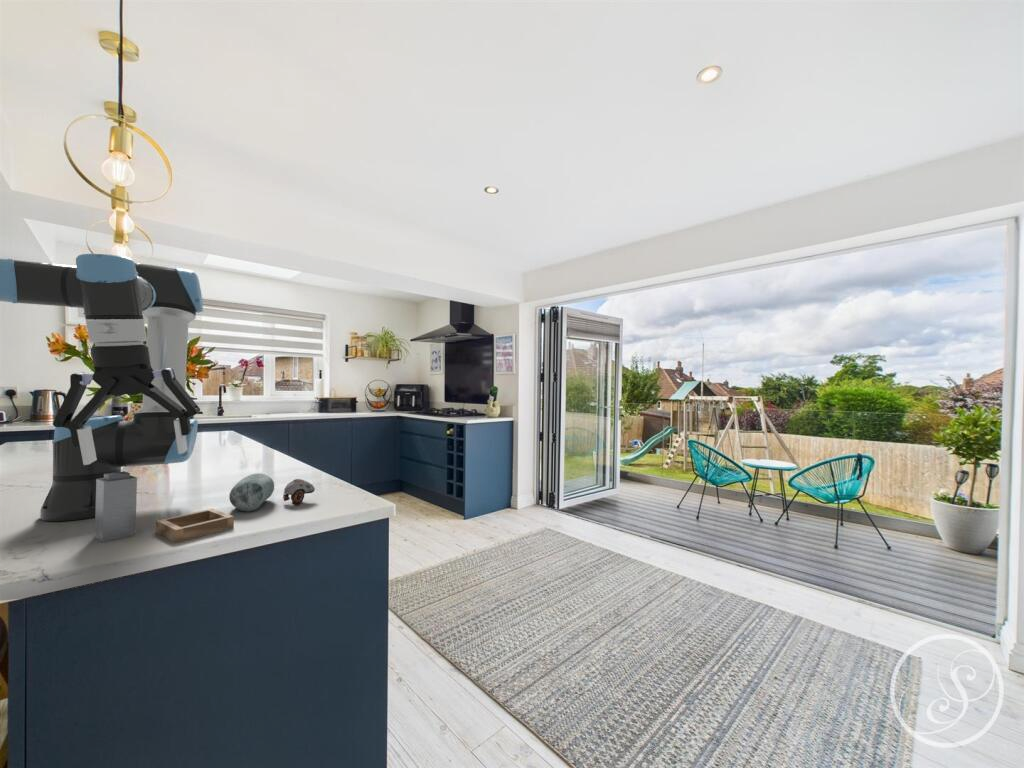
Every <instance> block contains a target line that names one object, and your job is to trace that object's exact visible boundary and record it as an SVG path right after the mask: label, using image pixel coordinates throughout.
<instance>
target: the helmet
mask: <svg viewBox="0 0 1024 768" xmlns="http://www.w3.org/2000/svg"><path fill="white" fill-rule="evenodd" d="M315 490H316V488H315V486H314V485H313V484H312V483H311V482H310V481H308V480H305V479H300V478H297V479H295V478H294V479H293V481H290V482H289V483H287V485H285V487H284V489H283V494H282V500H283V502H286V501H290V500H291V501H292V502H291V503H292V504H293V505H294V506H299V505H301V504H302V503H303V501H304V499H305V495H306V494H313V493H314V492H315Z"/></svg>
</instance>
